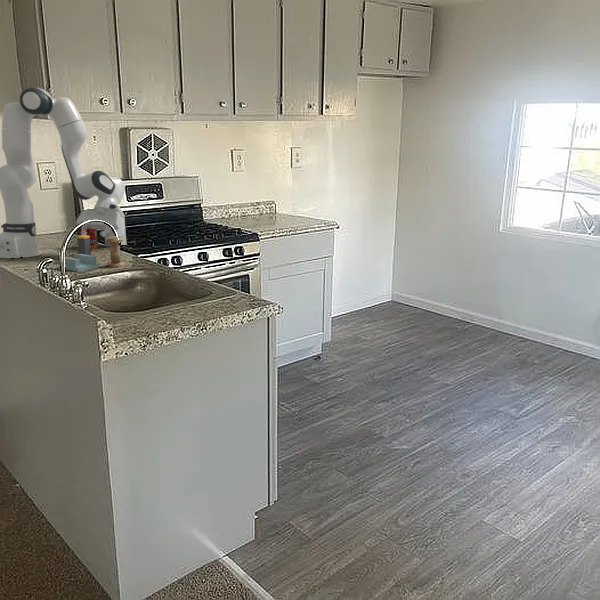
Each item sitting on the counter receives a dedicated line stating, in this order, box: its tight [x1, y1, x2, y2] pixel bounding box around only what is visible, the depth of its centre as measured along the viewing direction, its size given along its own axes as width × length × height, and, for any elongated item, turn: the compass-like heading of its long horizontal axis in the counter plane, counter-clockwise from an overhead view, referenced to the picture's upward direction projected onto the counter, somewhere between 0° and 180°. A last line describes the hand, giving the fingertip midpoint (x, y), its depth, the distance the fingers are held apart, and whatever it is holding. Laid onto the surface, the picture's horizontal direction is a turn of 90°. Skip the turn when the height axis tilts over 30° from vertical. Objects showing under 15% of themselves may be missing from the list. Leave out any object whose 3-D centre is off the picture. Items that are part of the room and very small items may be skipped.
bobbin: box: [104, 237, 126, 268], centre depth 249 cm, size 7×7×11 cm
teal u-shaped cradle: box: [57, 253, 100, 273], centre depth 244 cm, size 12×10×4 cm
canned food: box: [78, 227, 98, 250], centre depth 289 cm, size 8×8×11 cm
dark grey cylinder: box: [76, 235, 92, 256], centre depth 257 cm, size 4×4×11 cm
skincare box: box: [103, 217, 127, 247], centre depth 296 cm, size 8×7×16 cm
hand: (92, 235), depth 261 cm, fingers open, 8 cm apart
